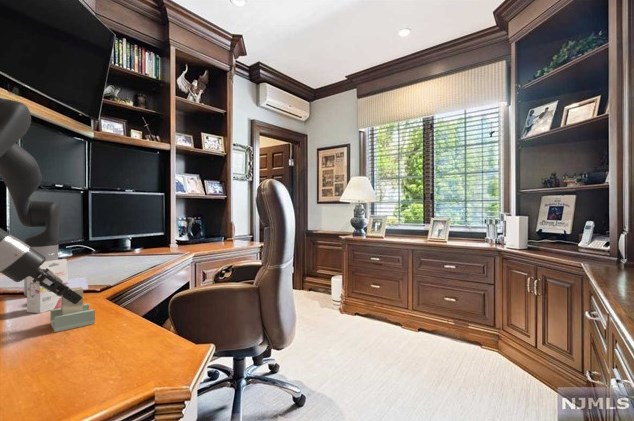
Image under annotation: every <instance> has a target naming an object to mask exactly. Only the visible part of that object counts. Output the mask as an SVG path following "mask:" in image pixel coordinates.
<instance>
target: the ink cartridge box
mask: <svg viewBox="0 0 634 421" xmlns="http://www.w3.org/2000/svg"><path fill="white" fill-rule="evenodd" d="M53 263H54V264H58V266H53V267H49V265H52V264H53ZM39 268H41V269H44V270H45V269H46V268H48V269H49V270H51V271H52V272H53V273H54V274H55V275H56V276H58V277H59V278H60V279H61V280H62V281H63V283H66V286H68V279H69V278H68V277H69V270H68V261H67V258H63V259H61V258H60V259H58V260H54V261H47V262H44V263H43V264H42V265H41V266H40V267H39ZM33 279H34V278H32V277H30V276H28V277H27V296H26V312H27V313H35V314H42V313H45V312H48V311H50V310H52V309H58V308H61V297H60V296H57V294H55V293H53V292H49V291H47V290H46V289H44V288H43V287H41V286H37V285H36V284H34V283H33V281H32V280H33Z"/></svg>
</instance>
